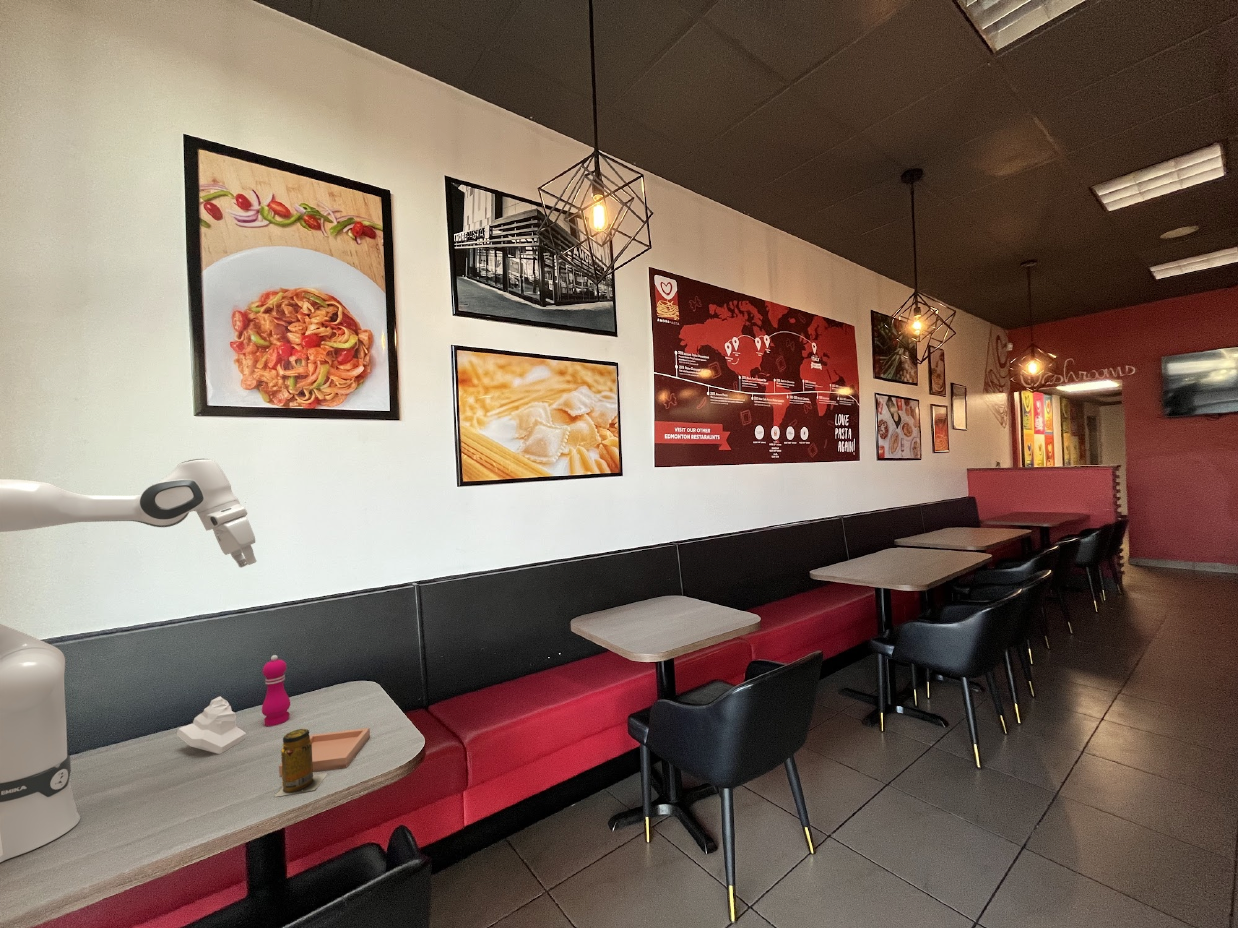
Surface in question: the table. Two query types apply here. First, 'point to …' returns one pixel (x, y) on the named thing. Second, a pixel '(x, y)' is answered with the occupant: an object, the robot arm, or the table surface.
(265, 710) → the pepper mill
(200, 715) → the white stepped rock sculpture
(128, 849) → the table surface
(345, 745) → the tray
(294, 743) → the condiment
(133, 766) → the table surface
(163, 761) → the table surface
